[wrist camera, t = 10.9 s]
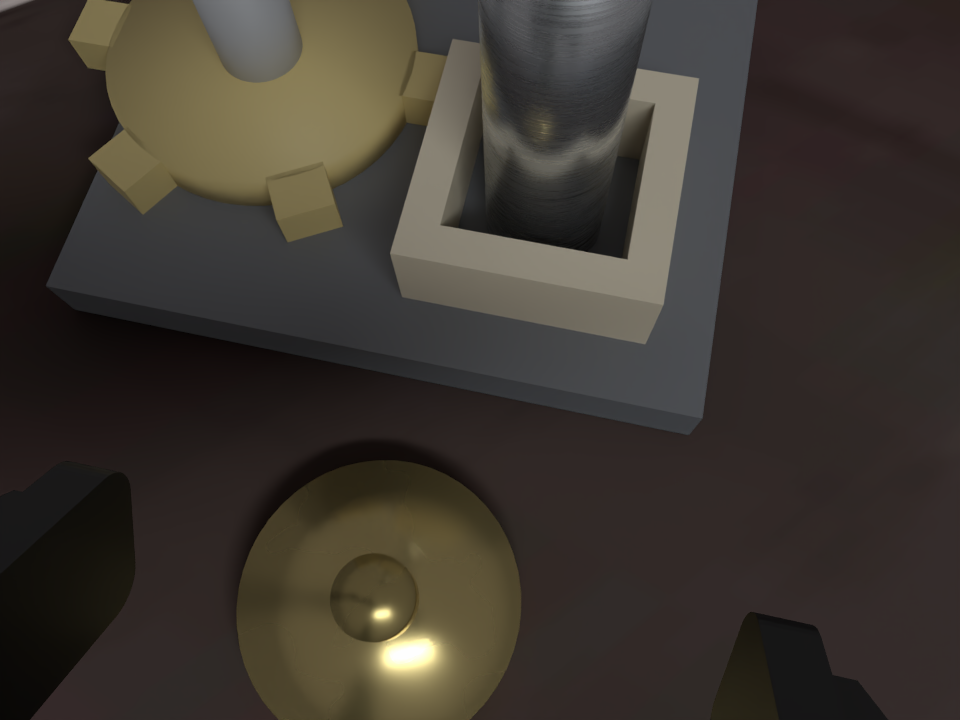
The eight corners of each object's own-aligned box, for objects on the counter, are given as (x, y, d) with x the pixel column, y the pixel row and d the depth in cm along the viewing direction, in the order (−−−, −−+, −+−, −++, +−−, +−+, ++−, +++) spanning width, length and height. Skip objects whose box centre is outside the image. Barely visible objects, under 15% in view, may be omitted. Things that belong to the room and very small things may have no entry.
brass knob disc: (243, 759, 20) (213, 771, 18) (257, 477, 22) (232, 458, 20) (529, 743, 20) (533, 754, 18) (510, 462, 22) (512, 442, 20)
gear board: (21, 298, 24) (-116, 196, 18) (182, -54, 28) (110, -216, 23) (688, 435, 22) (748, 364, 17) (743, 32, 26) (803, -123, 21)
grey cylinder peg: (470, 260, 22) (442, -89, 12) (496, 157, 23) (491, -245, 13) (593, 283, 22) (676, -54, 11) (614, 177, 23) (706, -219, 12)
